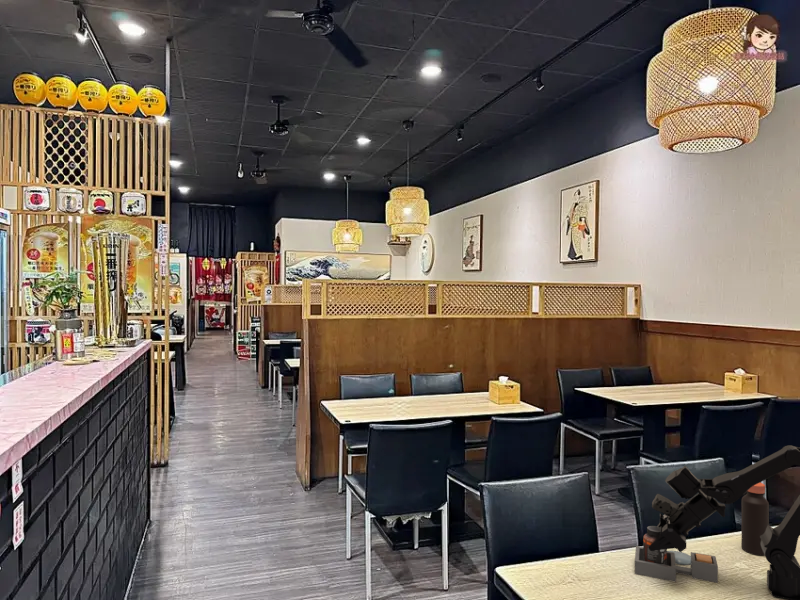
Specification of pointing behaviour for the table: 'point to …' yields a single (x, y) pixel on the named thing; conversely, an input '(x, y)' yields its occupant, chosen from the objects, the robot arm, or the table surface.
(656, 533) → the supplement bottle
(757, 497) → the vinegar
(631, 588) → the table surface
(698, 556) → the orange-brown cube
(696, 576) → the holder
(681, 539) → the robot arm
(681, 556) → the coaster
